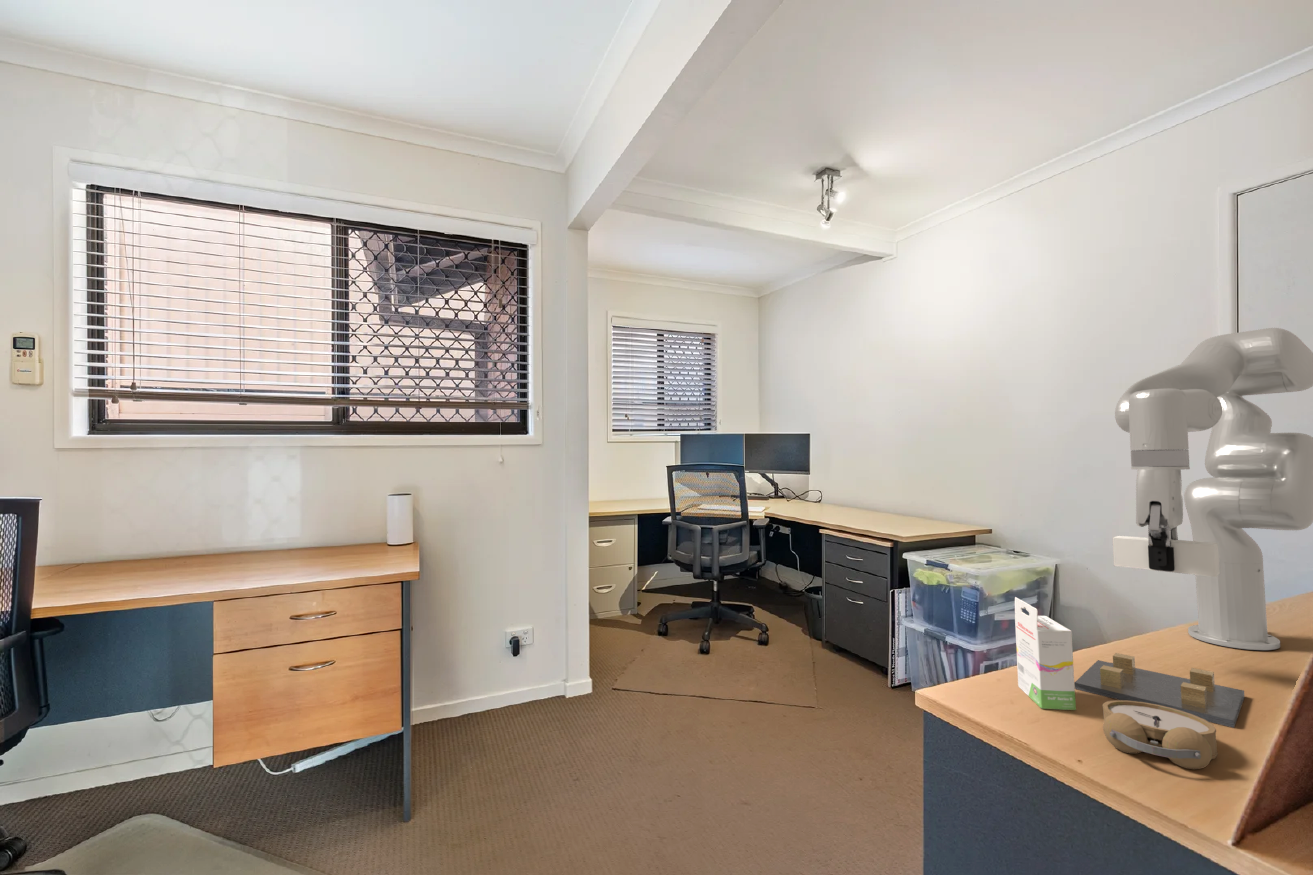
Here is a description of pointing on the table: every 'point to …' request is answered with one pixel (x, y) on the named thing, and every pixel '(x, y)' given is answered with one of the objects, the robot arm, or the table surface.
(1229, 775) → the table surface
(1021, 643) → the ink box
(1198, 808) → the table surface
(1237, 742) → the table surface
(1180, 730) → the alarm clock
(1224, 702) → the cradle jig
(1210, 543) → the white rectangular block
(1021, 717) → the table surface
